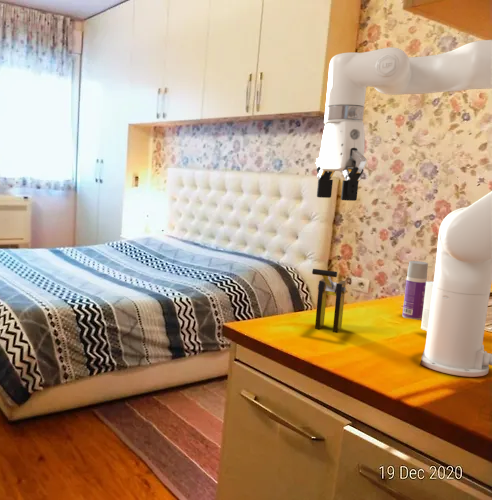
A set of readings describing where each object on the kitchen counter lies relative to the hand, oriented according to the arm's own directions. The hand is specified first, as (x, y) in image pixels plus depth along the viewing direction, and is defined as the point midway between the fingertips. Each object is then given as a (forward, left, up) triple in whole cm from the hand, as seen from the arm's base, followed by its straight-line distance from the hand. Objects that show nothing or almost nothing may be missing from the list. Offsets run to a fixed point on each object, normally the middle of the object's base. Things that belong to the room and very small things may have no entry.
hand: (335, 198), depth 109 cm
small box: (-23, -22, -32) cm, 45 cm away
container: (-15, -37, -32) cm, 51 cm away
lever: (0, -2, -20) cm, 20 cm away
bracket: (0, -7, -32) cm, 33 cm away
